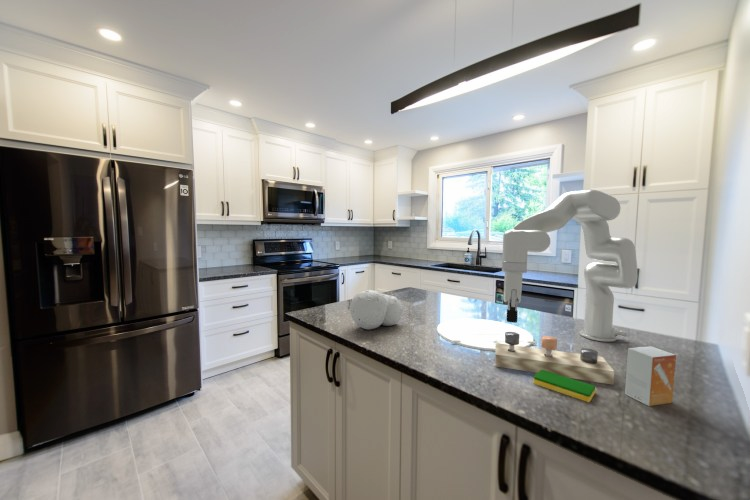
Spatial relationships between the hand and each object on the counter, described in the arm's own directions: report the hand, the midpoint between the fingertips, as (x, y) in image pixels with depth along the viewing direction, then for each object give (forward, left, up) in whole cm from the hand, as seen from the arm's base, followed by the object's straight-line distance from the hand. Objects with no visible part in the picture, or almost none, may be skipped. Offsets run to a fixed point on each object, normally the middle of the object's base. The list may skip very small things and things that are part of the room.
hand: (511, 321), depth 103 cm
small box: (-33, +11, -14) cm, 38 cm away
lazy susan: (+10, -27, -15) cm, 33 cm away
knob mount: (-11, 0, -14) cm, 18 cm away
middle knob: (-11, 0, -11) cm, 16 cm away
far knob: (0, 0, -11) cm, 11 cm away
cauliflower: (+57, -19, -14) cm, 62 cm away
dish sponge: (-13, +13, -15) cm, 24 cm away
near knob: (-22, 0, -14) cm, 26 cm away
